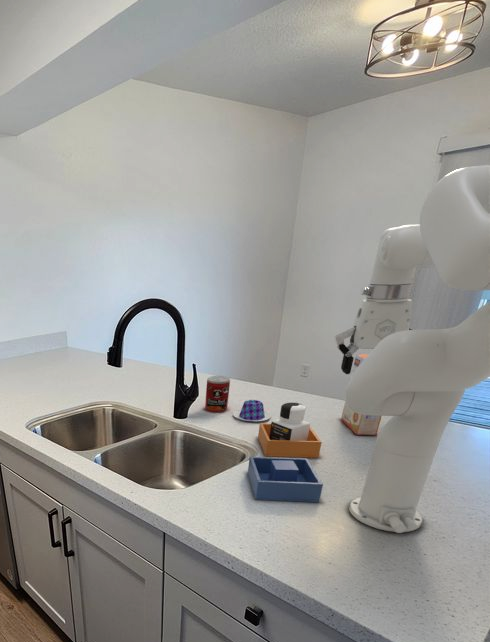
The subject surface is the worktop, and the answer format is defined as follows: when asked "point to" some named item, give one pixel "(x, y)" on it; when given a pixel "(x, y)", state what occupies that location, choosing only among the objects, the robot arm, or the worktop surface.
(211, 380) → the canned food
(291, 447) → the amber bin
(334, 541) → the worktop surface
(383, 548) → the worktop surface
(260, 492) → the blue bin
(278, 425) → the medicine bottle
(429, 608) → the worktop surface
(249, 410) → the pudding
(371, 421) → the cracker box
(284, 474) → the blue block
